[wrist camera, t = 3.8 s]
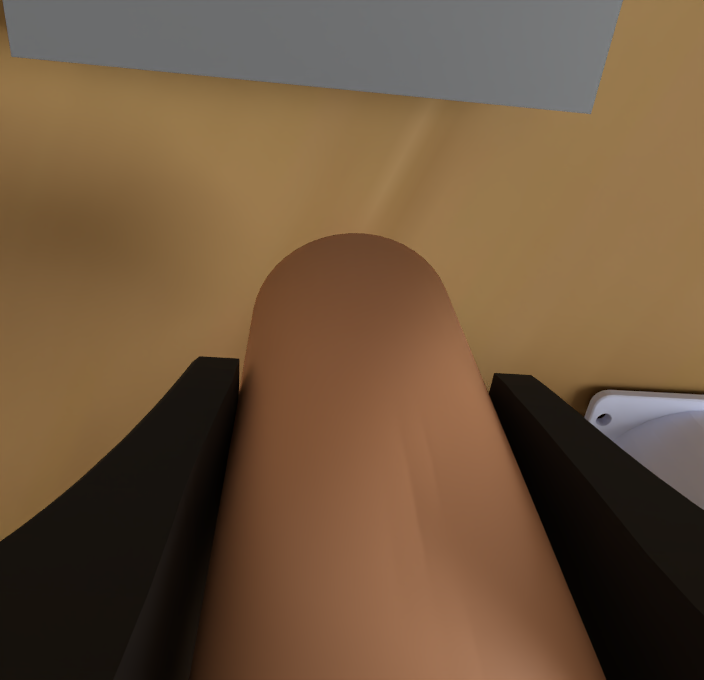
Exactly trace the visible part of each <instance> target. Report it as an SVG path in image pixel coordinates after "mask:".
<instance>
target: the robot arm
mask: <svg viewBox="0 0 704 680" xmlns="http://www.w3.org/2000/svg"><path fill="white" fill-rule="evenodd" d="M489 396H490V398H491V401H492V403H493V406H494V408H495V410H496V413H497V415H498V418H499V420H500V423H501V425H502V427H503V430H504V432H505V435H506V437H507V440H508V442H509V444H510V447H511V449H512V452H513V454H514V457H515V459H516V461H517V464H518V466H519V469H520V471H521V474H522V476H523V478H524V481H525V483H526V486H527V488H528V491H529V493H530V495H531V498H532V500H533V503H534V505H535V508H536V510H537V512H538V515H539V517H540V520H541V522H542V525H543V527H544V529H545V532H546V534H547V537H548V539H549V542H550V544H551V546H552V549H553V551H554V554H555V556H556V559H557V561H558V563H559V566H560V568H561V571H562V573H563V575H564V578H565V580H566V583H567V585H568V588H569V590H570V592H571V595H572V597H573V600H574V602H575V605H576V607H577V609H578V612H579V614H580V617H581V619H582V622H583V624H584V626H585V629H586V631H587V634H588V636H589V639H590V641H591V643H592V646H593V648H594V651H595V653H596V656H597V658H598V660H599V663H600V665H601V668H602V670H603V673H604V675H605V677H606V680H704V395H699V394H680V393H661V392H643V391H624V390H603V391H600V392H598V393H596V394H595V395H594V396H593V397H592V399H591V400H590V403H589V406H588V408H587V411H586V414H585V417H583V416H582V415H580V414H579V413H578V412H577V411H576V410H574V409H573V408H572V407H571V406H570V405H568V404H567V403H566V402H565V401H564V400H562V399H561V398H560V397H559V396H558V395H556V394H555V393H554V392H553V391H551V390H550V389H549V388H548V387H546V386H545V385H544V384H543V383H541V382H540V381H539V380H537V379H536V378H534V377H533V376H531V375H519V374H501V373H494V376H493V380H492V384H491V388H490V391H489ZM238 397H239V359H235V358H217V357H198V358H197V359H196V360H194V361H193V362H192V363H191V364H190V366H189V367H188V368H187V369H186V371H185V372H184V373H183V374H182V376H181V377H180V378H179V379H178V380H177V382H176V383H175V384H174V385H173V386H172V387H171V389H170V390H169V391H168V392H167V393H166V394H165V395H164V397H163V398H162V399H161V400H160V401H159V402H158V403H157V404H156V405H155V407H154V408H153V409H152V410H151V411H150V412H149V413H148V414H147V415H146V416H145V417H144V418H143V419H142V420H141V421H140V422H139V423H138V424H137V425H136V426H135V428H134V429H133V430H132V431H131V432H130V433H129V434H128V435H127V436H126V437H125V438H124V439H123V440H122V441H121V442H120V443H119V444H118V445H117V446H115V447H114V448H113V449H112V450H111V451H110V452H109V453H108V454H107V455H106V456H105V457H104V458H103V459H101V460H100V461H99V462H98V463H97V464H96V465H95V466H94V467H93V468H92V469H91V470H90V471H88V472H87V473H86V474H85V475H84V476H83V477H82V478H81V479H80V480H78V481H77V482H76V483H75V484H74V485H73V486H71V487H70V488H69V489H68V490H67V491H66V492H64V493H63V494H62V495H61V496H59V497H58V498H57V499H56V500H55V501H53V502H52V503H51V504H50V505H48V506H47V507H46V508H45V509H43V510H42V511H41V512H39V513H38V514H37V515H36V516H34V517H33V518H32V519H30V520H29V521H28V522H27V523H25V524H24V525H23V526H21V527H20V528H19V529H17V530H16V531H14V532H13V533H12V534H10V535H9V536H7V537H6V538H5V539H3V540H2V541H0V680H189V677H190V672H191V666H192V660H193V654H194V649H195V643H196V637H197V631H198V626H199V620H200V614H201V608H202V603H203V597H204V591H205V585H206V580H207V574H208V568H209V562H210V557H211V551H212V545H213V539H214V534H215V528H216V522H217V516H218V511H219V505H220V499H221V494H222V488H223V482H224V476H225V471H226V465H227V459H228V453H229V448H230V442H231V438H232V432H233V426H234V420H235V415H236V409H237V403H238ZM602 414H606V415H605V416H604V417H602V418H599V419H597V418H598V416H600V415H602Z"/></svg>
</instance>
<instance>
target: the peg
mask: <svg viewBox="0 0 704 680" xmlns="http://www.w3.org/2000/svg"><path fill="white" fill-rule="evenodd" d="M189 680H606V677H605V675H604V673H603V670H602V668H601V665H600V663H599V660H598V658H597V656H596V653H595V651H594V648H593V646H592V643H591V641H590V639H589V636H588V634H587V631H586V629H585V626H584V624H583V622H582V619H581V617H580V614H579V612H578V609H577V607H576V605H575V602H574V600H573V597H572V595H571V592H570V590H569V588H568V585H567V583H566V580H565V578H564V575H563V573H562V571H561V568H560V566H559V563H558V561H557V559H556V556H555V554H554V551H553V549H552V546H551V544H550V542H549V539H548V537H547V534H546V532H545V529H544V527H543V525H542V522H541V520H540V517H539V515H538V512H537V510H536V508H535V505H534V503H533V500H532V498H531V495H530V493H529V491H528V488H527V486H526V483H525V481H524V478H523V476H522V474H521V471H520V469H519V466H518V464H517V461H516V459H515V457H514V454H513V452H512V449H511V447H510V444H509V442H508V440H507V437H506V435H505V432H504V430H503V427H502V425H501V423H500V420H499V418H498V415H497V413H496V410H495V408H494V406H493V403H492V401H491V398H490V396H489V393H488V391H487V389H486V386H485V384H484V381H483V379H482V376H481V374H480V372H479V369H478V367H477V364H476V362H475V359H474V357H473V355H472V352H471V350H470V347H469V345H468V342H467V340H466V338H465V335H464V333H463V330H462V328H461V325H460V323H459V321H458V318H457V316H456V313H455V311H454V308H453V306H452V304H451V301H450V299H449V296H448V294H447V291H446V289H445V287H444V285H443V283H442V281H441V279H440V277H439V276H438V274H437V273H436V272H435V270H434V269H433V268H432V266H431V265H430V264H429V263H428V262H427V261H426V260H425V259H424V258H422V257H421V256H420V255H419V254H417V253H416V252H415V251H413V250H412V249H410V248H408V247H407V246H405V245H403V244H401V243H399V242H396V241H394V240H391V239H388V238H384V237H381V236H377V235H370V234H359V233H348V234H339V235H333V236H328V237H324V238H321V239H318V240H315V241H313V242H310V243H308V244H306V245H304V246H302V247H300V248H298V249H296V250H295V251H293V252H292V253H291V254H289V255H288V256H286V257H285V258H284V259H283V260H282V261H281V262H280V263H279V264H278V265H276V266H275V268H274V269H273V270H272V271H271V273H270V274H269V275H268V276H267V278H266V280H265V281H264V283H263V285H262V286H261V288H260V291H259V293H258V295H257V298H256V302H255V306H254V310H253V315H252V321H251V327H250V333H249V338H248V344H247V350H246V356H245V361H244V367H243V373H242V379H241V384H240V390H239V397H238V403H237V409H236V415H235V420H234V426H233V432H232V438H231V442H230V448H229V453H228V459H227V465H226V471H225V476H224V482H223V488H222V494H221V499H220V505H219V511H218V516H217V522H216V528H215V534H214V539H213V545H212V551H211V557H210V562H209V568H208V574H207V580H206V585H205V591H204V597H203V603H202V608H201V614H200V620H199V626H198V631H197V637H196V643H195V649H194V654H193V660H192V666H191V672H190V677H189Z"/></svg>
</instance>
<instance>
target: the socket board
mask: <svg viewBox="0 0 704 680" xmlns="http://www.w3.org/2000/svg"><path fill="white" fill-rule="evenodd" d="M622 2H623V0H3V6H4V12H5V19H6V25H7V31H8V37H9V44H10V50H11V56H12V57H21V58H31V59H41V60H51V61H61V62H71V63H81V64H91V65H101V66H112V67H122V68H132V69H142V70H152V71H162V72H172V73H182V74H192V75H203V76H213V77H223V78H233V79H243V80H253V81H263V82H273V83H283V84H294V85H304V86H314V87H324V88H334V89H344V90H354V91H364V92H374V93H385V94H395V95H405V96H415V97H425V98H435V99H445V100H455V101H465V102H476V103H486V104H496V105H506V106H516V107H526V108H536V109H546V110H556V111H567V112H577V113H587V114H591V111H592V108H593V104H594V101H595V97H596V94H597V90H598V87H599V83H600V79H601V76H602V72H603V69H604V65H605V62H606V58H607V55H608V51H609V48H610V44H611V41H612V37H613V33H614V30H615V26H616V23H617V19H618V16H619V12H620V9H621V5H622Z"/></svg>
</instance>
